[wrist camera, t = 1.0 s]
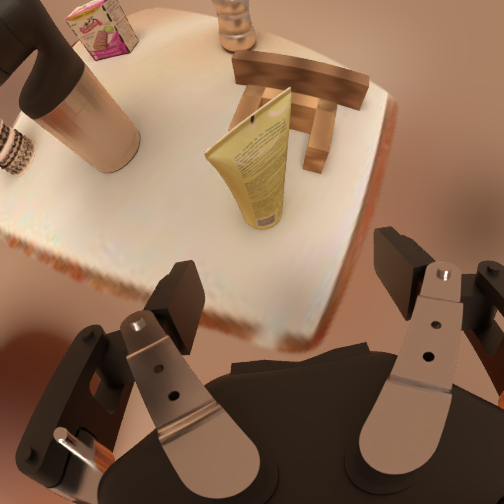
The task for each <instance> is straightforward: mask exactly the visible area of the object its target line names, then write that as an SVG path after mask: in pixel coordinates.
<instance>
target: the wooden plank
mask: <svg viewBox="0 0 504 504" xmlns="http://www.w3.org/2000/svg"><path fill="white" fill-rule="evenodd" d="M232 64H233V69H234V74H235V79H236V84H241V85H247V84H248V85H255V86H261V87H268V88H273V89H279V90H284V91H285V90H286V89H287V88H289V87H291V92H294V93H299V94H304V95H308V96H312V97H316V98H320V99H324V100H328V101H332V102H335V103H338V104H339V105H343V106H346V107H349V108H353V109H356V110H359V109H360V107H361V105H362V102H363V100H364V97H365V95H366V92H367V90H368V88H369V76H368V75H364V74H361V73H358V72H355V71H352V70H348V69H345V68H341V67H337V66H334V65H330V64H326V63H322V62H317V61H313V60H308V59H303V58H298V57H293V56H287V55H281V54H274V53H267V52H259V51H250V50H238V49H237V50H236V52H235V53H234V55H233V57H232Z"/></svg>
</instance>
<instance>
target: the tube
mask: <svg viewBox="0 0 504 504" xmlns="http://www.w3.org/2000/svg"><path fill="white" fill-rule="evenodd" d="M290 112H291V87H289V88H287V89H286V90H285V91H283V92H282V93H280V94H279V95H277V96H276V97H275V98H273V99H272V100H270V101H269V102H267V103H266V104H265V105H263V106H262V107H261V108H259V109H258V110H257V111H255V112H254V113H253V114H251V115H250V116H249V117H247V118H246V119H245V120H243V121H242V122H241V123H239V124H238V125H237V126H235V127H234V128H233V129H232V130H230V131H229V132H228V133H226V134H225V135H224V136H223V137H221V138H220V139H219V140H217V141H216V142H215V143H214V144H213V145H212V146H210V147H209V148H208V149H207V150H206V151H205V152H204V154H205V157H206V159H207V160H208V161H209V162H210V163H211V164H212V165H213V166H214V167H215V168H216V169H217V171H218V172H219V173H220V175H221V176H222V178H223V179H224V181H225V182H226V184H227V185H228V187H229V189H230V190H231V192H232V194H233V196H234V197H235V199H236V201H237V203H238V205H239V207H240V210H241V212H242V214H243V216H244V218H245V220H246V222H247V223H248V224H249V225H250V226H252V227H254V228H257V229H267V228H270V227H272V226H274V225H275V224H276V223H277V222H278V221H279V219H280V217H281V214H282V205H283V193H284V182H285V171H286V160H287V148H288V136H289V124H290Z"/></svg>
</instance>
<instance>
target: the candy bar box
mask: <svg viewBox="0 0 504 504" xmlns="http://www.w3.org/2000/svg"><path fill="white" fill-rule="evenodd" d="M65 21H66V22H67V24H68V25H69V26H70V28H71V29H72V30H73V32H74V33H75V34H76V36H77V37H78V38H79V40H80V41H81V42H82V44H83V45H84V46H85V48H86V49H87V51H88V52H89V53H90V55H91V56H92V57H93V59H94V60H95V61H97V60H100V59H104V58H108V57H113V56H117V55H122V54H127V53H131V51H132V50H133V48H134V47H135V45H136V44H137V43H138V39H137V37H136V35H135V33H134V31H133V29H132V27H131V26H130V24H129V22H128V20H127V18H126V16H125V14H124V12H123V10H122V8H121V7H120V5H119V3H118V1H117V0H94V1H91V2H89V3H86V4H84V5H81V6H79V7H77V8H75V9H74V10H73V11H72V12H71V13H70V14H69V15H68V16H67V17H66V19H65Z"/></svg>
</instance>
